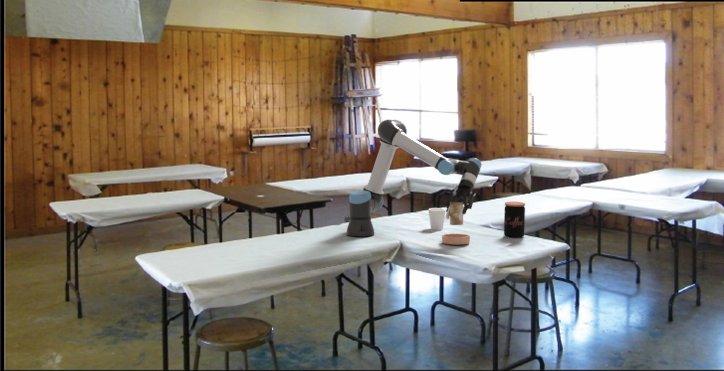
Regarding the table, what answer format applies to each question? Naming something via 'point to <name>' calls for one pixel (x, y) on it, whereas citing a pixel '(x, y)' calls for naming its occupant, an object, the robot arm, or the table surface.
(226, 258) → the table surface
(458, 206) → the canister
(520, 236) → the coffee jar
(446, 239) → the bowl
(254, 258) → the table surface
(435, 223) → the foam cup
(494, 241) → the table surface
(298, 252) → the table surface
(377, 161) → the robot arm
